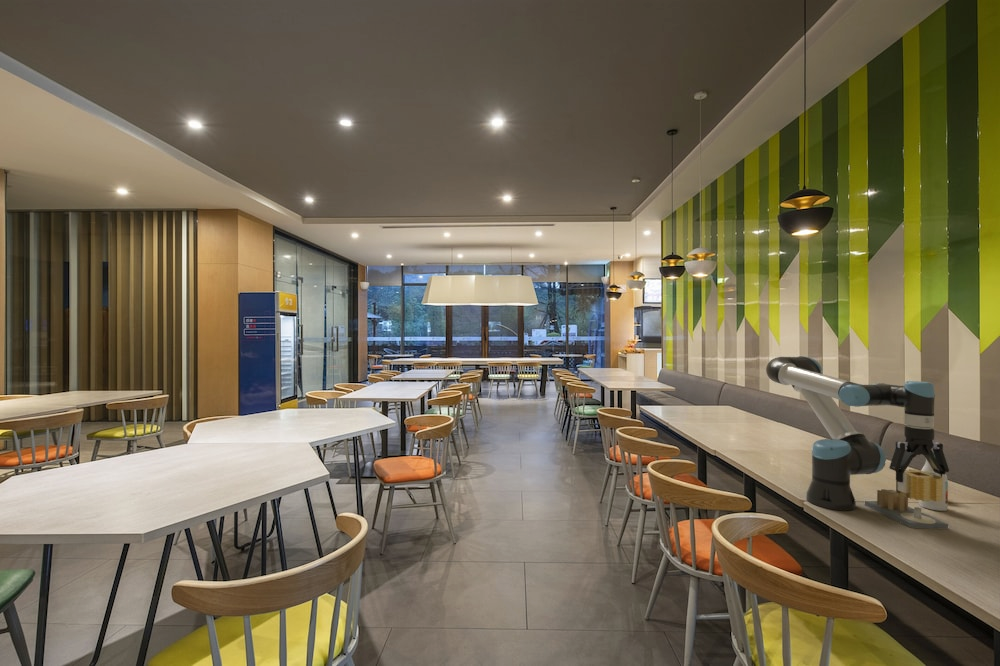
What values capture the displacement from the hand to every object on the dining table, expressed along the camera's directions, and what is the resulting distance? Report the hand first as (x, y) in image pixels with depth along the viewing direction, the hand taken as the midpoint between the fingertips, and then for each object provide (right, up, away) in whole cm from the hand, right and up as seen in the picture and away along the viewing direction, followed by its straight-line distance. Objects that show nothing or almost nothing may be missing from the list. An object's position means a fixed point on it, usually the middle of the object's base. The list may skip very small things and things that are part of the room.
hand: (918, 491), depth 156 cm
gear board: (0, -11, +6) cm, 12 cm away
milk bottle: (+18, -11, +14) cm, 26 cm away
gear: (0, -1, 0) cm, 1 cm away
